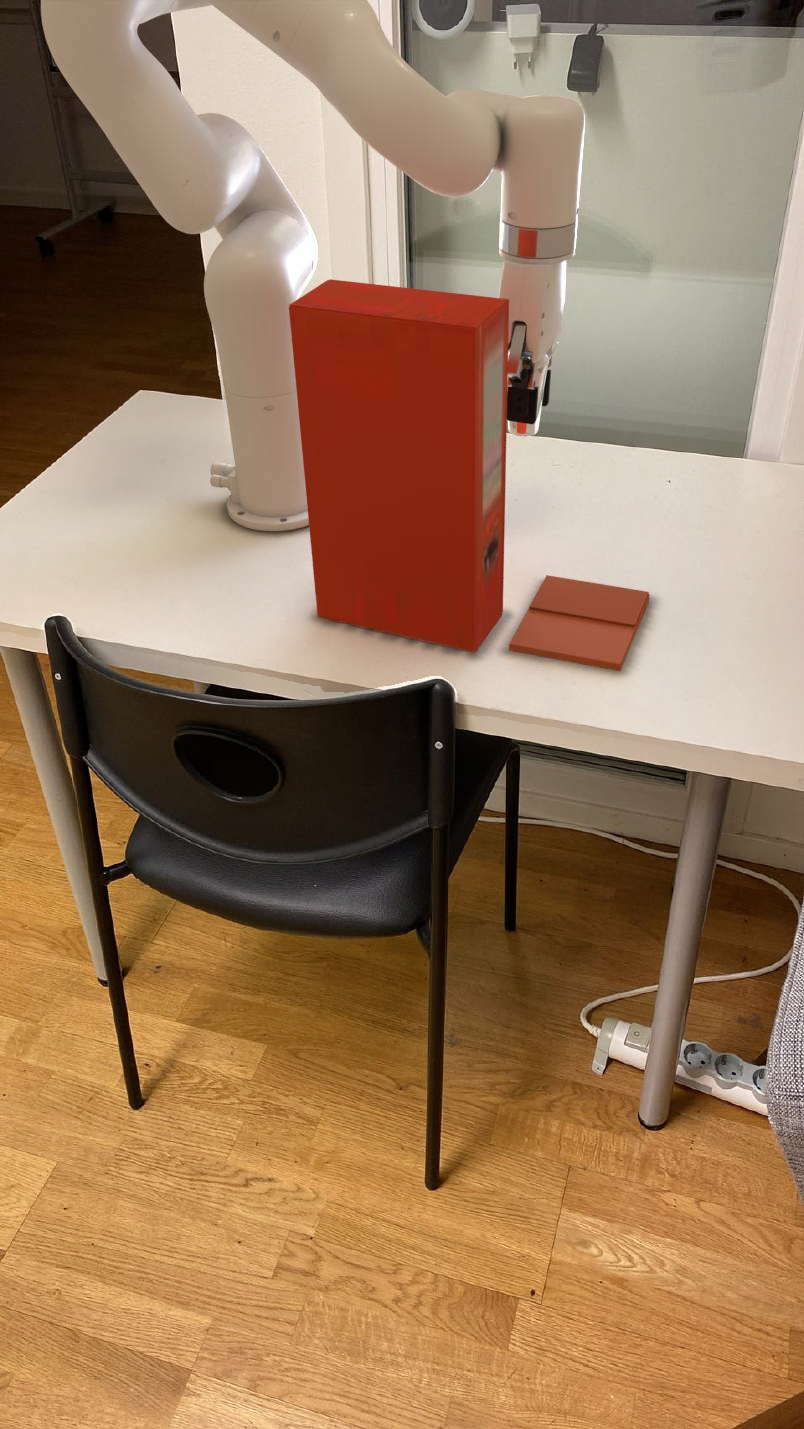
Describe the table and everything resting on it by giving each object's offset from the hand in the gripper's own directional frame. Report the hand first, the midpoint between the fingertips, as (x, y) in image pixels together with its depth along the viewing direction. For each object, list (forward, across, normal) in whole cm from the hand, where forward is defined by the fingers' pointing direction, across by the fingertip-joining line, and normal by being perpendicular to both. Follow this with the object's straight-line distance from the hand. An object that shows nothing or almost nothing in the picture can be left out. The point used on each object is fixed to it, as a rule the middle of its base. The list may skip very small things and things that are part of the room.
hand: (527, 411), depth 127 cm
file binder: (+14, +23, -5) cm, 27 cm away
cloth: (+13, +19, +12) cm, 26 cm away
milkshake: (+3, 0, 0) cm, 3 cm away
